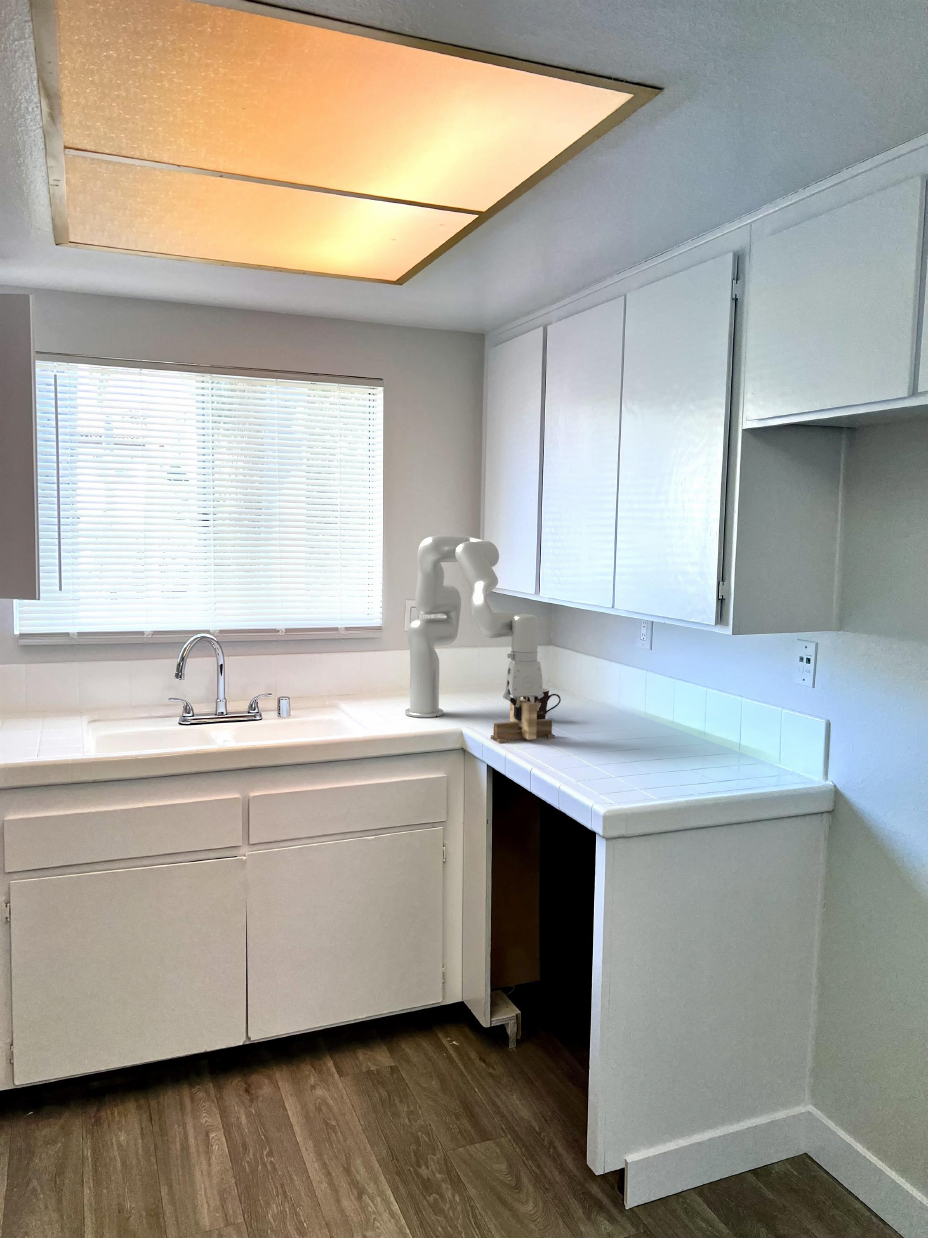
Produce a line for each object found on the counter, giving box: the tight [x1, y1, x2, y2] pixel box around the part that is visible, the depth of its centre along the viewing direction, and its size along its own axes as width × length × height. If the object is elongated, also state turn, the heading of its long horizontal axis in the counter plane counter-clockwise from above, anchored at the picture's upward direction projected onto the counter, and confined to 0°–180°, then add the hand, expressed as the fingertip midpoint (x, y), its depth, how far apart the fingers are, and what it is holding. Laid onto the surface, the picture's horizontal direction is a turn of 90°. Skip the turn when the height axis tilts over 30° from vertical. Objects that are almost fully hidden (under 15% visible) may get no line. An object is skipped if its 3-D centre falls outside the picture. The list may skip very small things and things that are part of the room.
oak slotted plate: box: [509, 696, 537, 740], centre depth 265 cm, size 12×3×10 cm, turn 23°
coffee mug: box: [522, 687, 562, 720], centre depth 289 cm, size 12×9×10 cm
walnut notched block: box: [490, 718, 556, 744], centre depth 265 cm, size 6×18×5 cm, turn 113°
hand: (522, 718), depth 265 cm, fingers closed on oak slotted plate, 2 cm apart
